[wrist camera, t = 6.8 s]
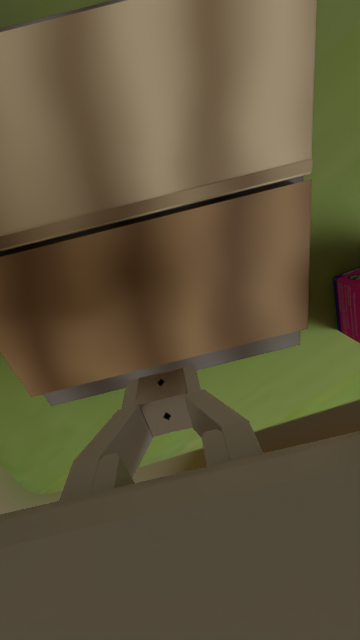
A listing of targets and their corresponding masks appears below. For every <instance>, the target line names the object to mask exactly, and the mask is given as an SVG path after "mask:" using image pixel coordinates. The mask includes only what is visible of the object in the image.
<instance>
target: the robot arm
mask: <svg viewBox="0 0 360 640" xmlns="http://www.w3.org/2000/svg"><path fill="white" fill-rule="evenodd" d="M188 428H193V429H194V430H195V431H196V432H197V433H198V434H199V436H200V437H201V438H202V441H203V447H204V452H205V458H206V464H207V467H204V468H200V469H195V470H191V471H187V472H182V473H179V474H174V475H170V476H165V477H161V478H156V479H152V480H148V481H143V482H139V483H134V481H133V479H132V478H133V476H134V474H135V472H136V470H137V468H138V466H139V464H140V462H141V460H142V458H143V456H144V454H145V453H146V451H147V449H148V447H149V445H150V443H151V441H152V439H153V437H154V436H158V435H162V434H166V433H169V432H173V431H178V430H183V429H188ZM0 640H360V431H359V432H355V433H350V434H346V435H342V436H338V437H333V438H329V439H325V440H320V441H316V442H312V443H307V444H303V445H298V446H294V447H290V448H286V449H281V450H277V451H273V452H268V453H264V454H263V452H262V450H261V448H260V445H259V443H258V441H257V439H256V436H255V434H254V432H253V430H252V427H251V425H250V423H249V421H248V420H247V419H245V418H244V417H242V416H241V415H240V414H238V413H237V412H235V411H234V410H232V409H231V408H230V407H228V406H227V405H225V404H224V403H223V402H221V401H220V400H218V399H217V398H215V397H214V396H213V395H211V394H210V393H208V392H207V391H206V390H201V389H200V385H199V381H198V377H197V373H196V369H195V365H190V366H186V367H183V368H180V369H176V370H172V371H168V372H164V373H159V374H154V375H149V376H145V377H140V378H136V379H132V380H128V382H127V385H126V390H125V395H124V400H123V405H122V409H120V410H118V411H117V412H116V413H115V414H114V415H113V417H112V418H111V419H110V420H109V421H108V422H107V424H106V425H105V426H104V427H103V428H102V429H101V430H100V432H99V433H98V434H97V435H96V436H95V437H94V438H93V440H92V441H91V442H90V443H89V444H88V445H87V446H86V448H85V449H84V450H83V451H82V452H81V453H80V454H79V456H78V457H77V458H76V459H75V460H74V461H73V464H72V467H71V469H70V472H69V475H68V478H67V481H66V484H65V486H64V489H63V492H62V495H61V498H60V500H59V501H57V502H53V503H49V504H45V505H40V506H36V507H32V508H27V509H23V510H18V511H14V512H10V513H5V514H1V515H0Z"/></svg>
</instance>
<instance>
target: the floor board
mask: <svg viewBox="0 0 360 640" xmlns="http://www.w3.org/2000/svg"><path fill="white" fill-rule="evenodd" d="M315 30H316V0H113V1H109V2H105V3H101V4H97V5H93V6H89V7H85V8H81V9H77V10H73V11H69V12H65V13H61V14H57V15H53V16H49V17H45V18H41V19H37V20H33V21H29V22H25V23H21V24H17V25H14V26H10V27H6V28H2V29H0V257H2V256H6V255H10V254H14V253H18V252H22V251H26V250H30V249H34V248H38V247H42V246H46V245H50V244H54V243H58V242H62V241H66V240H70V239H74V238H78V237H82V236H86V235H90V234H94V233H98V232H102V231H106V230H110V229H114V228H118V227H122V226H126V225H130V224H134V223H138V222H142V221H146V220H150V219H154V218H158V217H162V216H166V215H170V214H174V213H178V212H182V211H186V210H190V209H194V208H199V207H203V206H207V205H211V204H215V203H219V202H223V201H227V200H231V199H235V198H239V197H243V196H247V195H251V194H255V193H259V192H263V191H267V190H271V189H275V188H279V187H283V186H287V185H291V184H295V183H299V182H303V176H304V175H308V174H311V171H312V159H311V152H312V122H313V91H314V61H315ZM296 345H300V331H296V332H292V333H288V334H284V335H280V336H276V337H272V338H268V339H264V340H260V341H256V342H252V343H248V344H244V345H239V346H235V347H231V348H227V349H223V350H219V351H215V352H211V353H207V354H203V355H199V356H195V357H191V358H187V359H183V360H179V361H175V362H171V363H167V364H163V365H159V366H155V367H151V368H147V369H143V370H138V371H134V372H130V373H126V374H122V375H118V376H114V377H110V378H106V379H102V380H98V381H94V382H90V383H86V384H82V385H78V386H74V387H70V388H66V389H62V390H58V391H54V392H50V393H46V394H44V396H45V397H46V399H47V400H48V402H49V403H50V405H51V406H53V405H58V404H62V403H66V402H70V401H74V400H78V399H82V398H86V397H90V396H94V395H98V394H102V393H106V392H110V391H114V390H118V389H122V388H126V385H127V382H128V380H132V379H136V378H140V377H145V376H149V375H154V374H159V373H164V372H168V371H172V370H176V369H180V368H183V367H186V366H190V365H195V369H196V370H199V369H203V368H207V367H211V366H215V365H219V364H223V363H227V362H231V361H235V360H239V359H244V358H248V357H252V356H256V355H260V354H264V353H268V352H272V351H276V350H280V349H284V348H288V347H292V346H296Z"/></svg>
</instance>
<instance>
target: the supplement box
mask: <svg viewBox="0 0 360 640" xmlns="http://www.w3.org/2000/svg"><path fill="white" fill-rule="evenodd" d="M333 280H334V290H335V300H336V310H337V323H338V330H339V331H340V332H342V333H344V334H345V335H347V336H349V337H350V338H352V339H354V340H355V341H357V342H359V343H360V268H357V269H355V270H352V271H350V272H347V273H344V274H341V275H339V276H336V277H334V278H333Z"/></svg>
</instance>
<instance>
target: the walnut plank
mask: <svg viewBox="0 0 360 640" xmlns="http://www.w3.org/2000/svg"><path fill="white" fill-rule="evenodd" d="M311 187H312V179H311V180H307V181H303V182H299V183H295V184H291V185H287V186H283V187H279V188H275V189H271V190H267V191H263V192H259V193H255V194H251V195H247V196H243V197H239V198H235V199H231V200H227V201H223V202H219V203H215V204H211V205H207V206H203V207H199V208H194V209H190V210H186V211H182V212H178V213H174V214H170V215H166V216H162V217H158V218H154V219H150V220H146V221H142V222H138V223H134V224H130V225H126V226H122V227H118V228H114V229H110V230H106V231H102V232H98V233H94V234H90V235H86V236H82V237H78V238H74V239H70V240H66V241H62V242H58V243H54V244H50V245H46V246H42V247H38V248H34V249H30V250H26V251H22V252H18V253H14V254H10V255H6V256H2V257H0V352H1V354H2V355H3V356H4V358H5V359H6V361H7V362H8V364H9V365H10V367H11V368H12V370H13V371H14V372H15V374H16V375H17V377H18V378H19V380H20V381H21V383H22V384H23V386H24V387H25V389H26V390H27V391H28V393H29V394H30V396H31V397H33V396H37V395H41V394H46V393H50V392H54V391H58V390H62V389H66V388H70V387H74V386H78V385H82V384H86V383H90V382H94V381H98V380H102V379H106V378H110V377H114V376H118V375H122V374H126V373H130V372H134V371H138V370H143V369H147V368H151V367H155V366H159V365H163V364H167V363H171V362H175V361H179V360H183V359H187V358H191V357H195V356H199V355H203V354H207V353H211V352H215V351H219V350H223V349H227V348H231V347H235V346H239V345H244V344H248V343H252V342H256V341H260V340H264V339H268V338H272V337H276V336H280V335H284V334H288V333H292V332H296V331H300V330H304V329H308V296H309V260H310V223H311Z"/></svg>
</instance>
